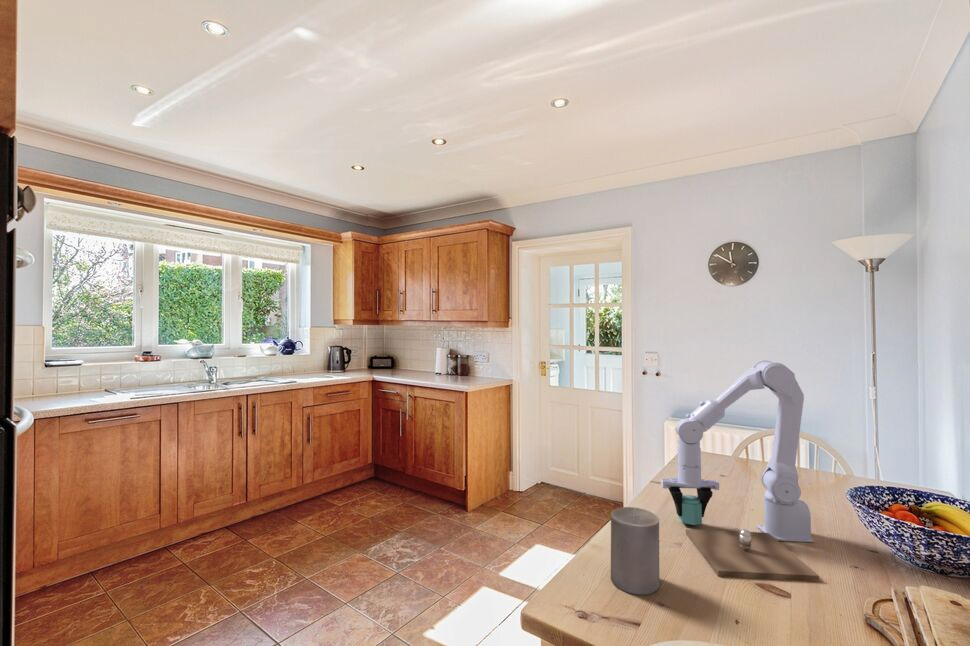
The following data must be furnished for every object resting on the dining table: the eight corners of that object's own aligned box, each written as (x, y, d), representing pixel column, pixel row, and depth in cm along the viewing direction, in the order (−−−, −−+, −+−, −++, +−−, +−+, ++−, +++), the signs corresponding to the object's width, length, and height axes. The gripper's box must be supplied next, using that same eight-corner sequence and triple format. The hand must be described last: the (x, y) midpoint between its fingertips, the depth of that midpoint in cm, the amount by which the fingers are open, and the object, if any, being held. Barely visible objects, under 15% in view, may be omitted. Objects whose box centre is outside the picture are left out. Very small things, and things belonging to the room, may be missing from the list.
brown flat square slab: (768, 537, 113) (768, 532, 113) (819, 581, 93) (818, 575, 93) (685, 534, 115) (685, 529, 115) (718, 576, 95) (718, 570, 95)
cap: (696, 516, 124) (695, 494, 124) (704, 525, 118) (703, 502, 118) (677, 515, 124) (676, 494, 124) (684, 524, 118) (683, 501, 118)
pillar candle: (605, 569, 98) (605, 500, 99) (650, 570, 98) (650, 500, 98) (617, 595, 89) (617, 518, 89) (667, 596, 88) (666, 519, 89)
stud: (748, 547, 105) (748, 527, 106) (753, 552, 103) (753, 531, 103) (737, 546, 106) (737, 526, 106) (742, 551, 103) (742, 531, 103)
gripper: (711, 460, 125) (712, 510, 124) (657, 459, 126) (658, 508, 126) (722, 468, 118) (723, 520, 117) (664, 467, 119) (665, 518, 119)
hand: (690, 515), depth 121 cm, fingers closed on cap, 5 cm apart
